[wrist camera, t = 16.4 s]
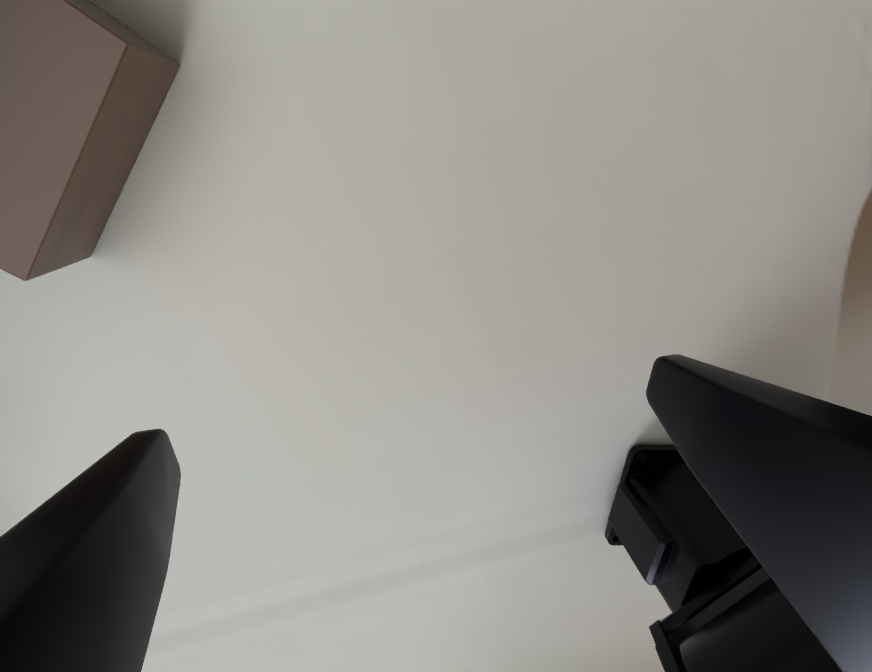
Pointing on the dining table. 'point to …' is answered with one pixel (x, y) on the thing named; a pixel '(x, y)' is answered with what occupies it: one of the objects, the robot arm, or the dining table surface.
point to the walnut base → (68, 126)
